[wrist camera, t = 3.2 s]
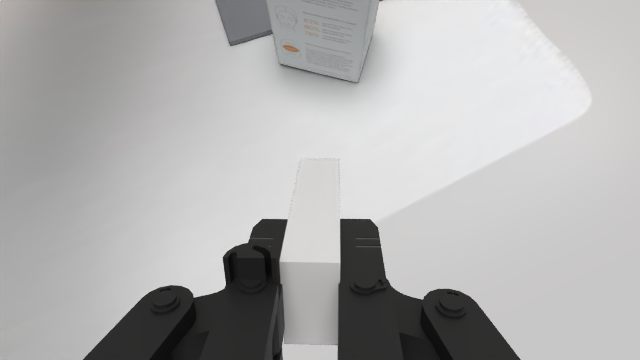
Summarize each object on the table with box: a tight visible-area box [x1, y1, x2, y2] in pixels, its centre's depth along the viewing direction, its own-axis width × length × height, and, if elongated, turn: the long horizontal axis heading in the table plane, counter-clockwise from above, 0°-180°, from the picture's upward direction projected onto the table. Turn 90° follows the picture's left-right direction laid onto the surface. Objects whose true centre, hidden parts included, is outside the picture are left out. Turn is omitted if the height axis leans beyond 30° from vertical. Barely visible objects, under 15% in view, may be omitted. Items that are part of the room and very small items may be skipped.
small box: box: [266, 0, 379, 83], centre depth 35 cm, size 8×6×13 cm
